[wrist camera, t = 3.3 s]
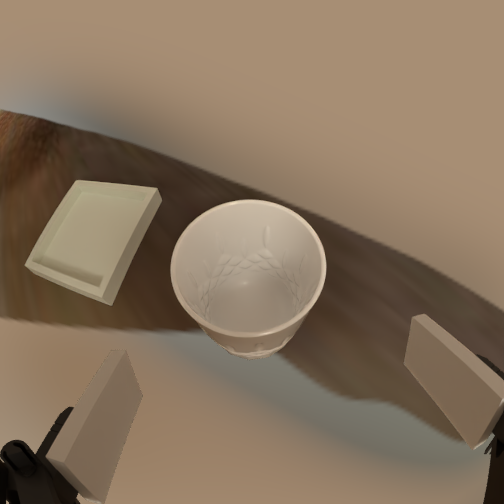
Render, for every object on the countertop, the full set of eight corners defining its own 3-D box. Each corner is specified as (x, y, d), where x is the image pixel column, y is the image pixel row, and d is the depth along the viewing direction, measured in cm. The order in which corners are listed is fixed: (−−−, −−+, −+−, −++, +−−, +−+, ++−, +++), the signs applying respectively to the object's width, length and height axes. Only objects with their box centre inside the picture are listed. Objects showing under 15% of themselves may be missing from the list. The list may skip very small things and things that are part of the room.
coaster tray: (34, 273, 25) (24, 265, 24) (82, 190, 32) (76, 179, 30) (111, 306, 24) (101, 297, 22) (162, 200, 30) (157, 188, 28)
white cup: (211, 273, 25) (187, 197, 16) (302, 279, 25) (322, 203, 16) (198, 361, 21) (155, 326, 12) (299, 370, 20) (327, 341, 12)
